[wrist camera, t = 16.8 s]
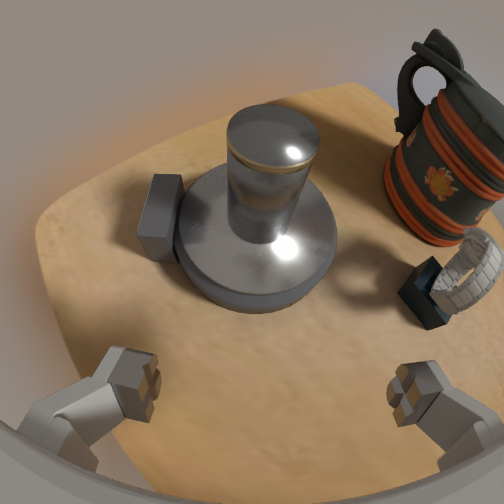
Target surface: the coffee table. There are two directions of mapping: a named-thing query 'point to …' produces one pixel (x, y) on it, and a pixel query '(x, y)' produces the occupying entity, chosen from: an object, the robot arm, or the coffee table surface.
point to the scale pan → (247, 254)
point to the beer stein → (445, 148)
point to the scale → (171, 249)
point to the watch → (454, 279)
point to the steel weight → (267, 169)
